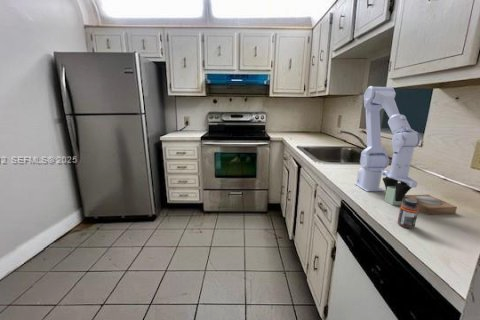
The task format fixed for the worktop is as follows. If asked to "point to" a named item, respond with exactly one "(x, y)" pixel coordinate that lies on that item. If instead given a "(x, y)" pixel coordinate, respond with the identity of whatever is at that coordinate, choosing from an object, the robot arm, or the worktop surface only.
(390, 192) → the sage block
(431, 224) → the worktop surface
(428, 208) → the walnut base
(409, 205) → the supplement bottle
